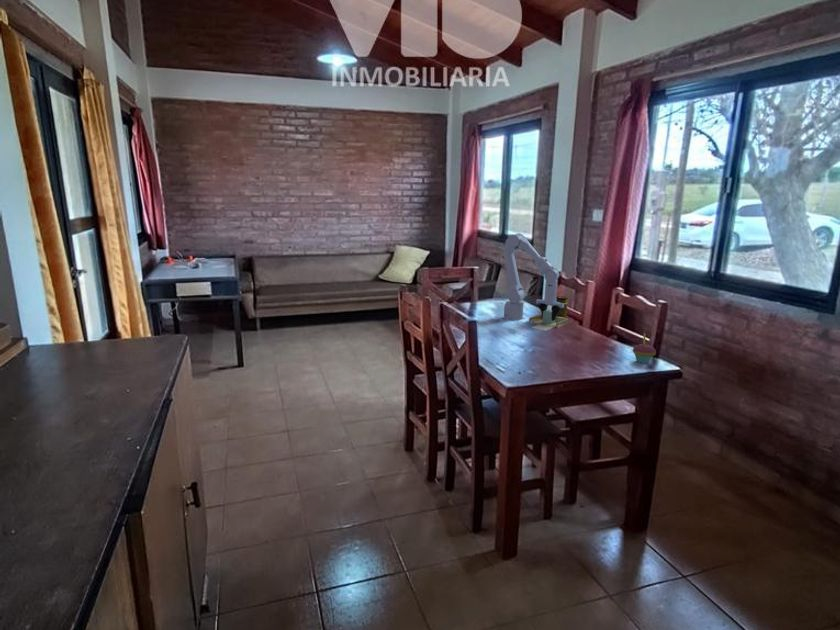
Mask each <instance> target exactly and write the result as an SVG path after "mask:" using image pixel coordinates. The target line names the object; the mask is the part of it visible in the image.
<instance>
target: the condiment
mask: <svg viewBox="0 0 840 630" xmlns="http://www.w3.org/2000/svg"><path fill="white" fill-rule="evenodd" d="M556 302H560V303H564V308H560V309H559V311H558V313H557V315H556V316H557V317H562V318H567V314H568V313H567V312H568V297H567V296H561V295H560V296H559V295H558V296H556Z"/></svg>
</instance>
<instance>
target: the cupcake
mask: <svg viewBox="0 0 840 630" xmlns="http://www.w3.org/2000/svg"><path fill="white" fill-rule="evenodd" d="M642 341H643V342H642V343H639V344H636V345H634V346H633V349H632V353H633V354H634V356H635V361H636V362H637V361H638V362H637V363H639V362H641V363H640V364H644V363H646V364H650V361H651V359H652V358H653V357H654V356H656V355H657V354H656V353H657V351H656V349H655V347H653V345H652V346H651V345H650V344H646V331H644V333H643V340H642Z"/></svg>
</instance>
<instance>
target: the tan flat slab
mask: <svg viewBox="0 0 840 630" xmlns="http://www.w3.org/2000/svg"><path fill="white" fill-rule="evenodd" d="M542 321H543V317H542V313H538V314H535V315H533V316H530V317H529V319H528V322H529V323H534V324H536V325H544V326H549V327H553V328H557V329H558V328H561V327H563V326H566V325H568V324H570V318H567V317H566V318H562V317H557V316H556V318H555V323H553V324H546V323H542Z"/></svg>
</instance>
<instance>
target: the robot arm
mask: <svg viewBox="0 0 840 630" xmlns="http://www.w3.org/2000/svg"><path fill="white" fill-rule="evenodd" d="M518 249H520V250H524V251H525V252H526V253H527V254H528V255H529V256H530V257H531V258H532V260H534V262H535V266H536V268H538V270H539V271H540V272H541V273H542V275H544V276H543V277H544V279H545V283H544V284H545V287H544V288H545V289H544V299H536V300H535V304H536V305H537V304H539V305H538V307H539V309H540V312H541V314H542V317H543V311H545V310H548V306H551V310H552V321H554V320H555V318H556V315H557V313H558V311H559V309H560V308H564V303H560V302H556V300H557V294H558V279H559V277H560V272H559V270H558V269H557V268H555V266H554V265H552V264H551V263H550V262H549V259H548V258H547V257H544V256H541V255H540V254H539V253H538V252H537V250H536V249H535V247H534V246H533V245H532V244H531V243H530V242H529V240H528V238H526V237H525V235H524V234H522V233H520V232H519V233H515V234H511V235H509V236H508V237H507V238H506V240H505V244H504V248H503V251H502V254H503V257H504V263H505V269H506V272H507V278H508V284H509V288H508V296H507V298H508V300H507V301H506V302H505V303H504V307H503V317H502V319H504V320H506V319H507V320H512V321H516V322H519V321H522V320H525V319H526V317H524V306H525V305H524V304H525V302H524V300H525V298H526V292H525V290H524V288H523V286H522V284H521V283H520V278H519V273H518V268H517V263H516V257H515V253H516V251H517V250H518Z"/></svg>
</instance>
